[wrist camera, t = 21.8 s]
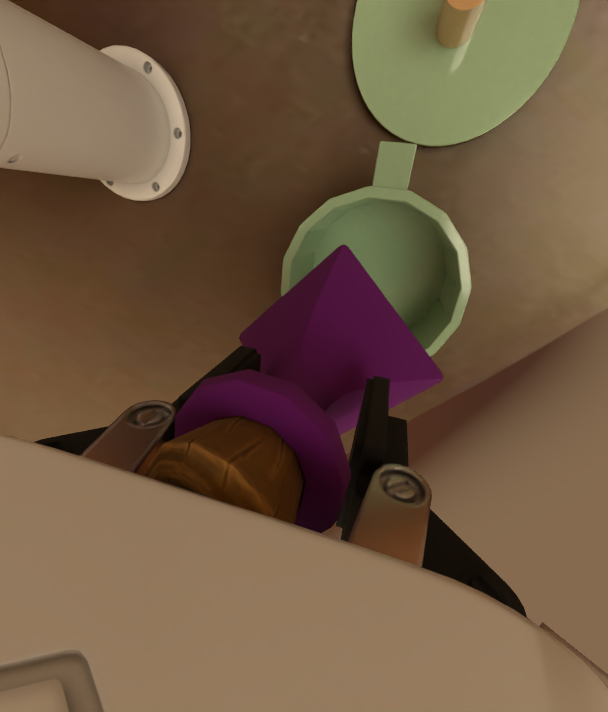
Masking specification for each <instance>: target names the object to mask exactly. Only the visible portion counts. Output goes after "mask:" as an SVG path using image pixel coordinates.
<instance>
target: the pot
mask: <svg viewBox="0 0 608 712" xmlns="http://www.w3.org/2000/svg"><path fill="white" fill-rule="evenodd" d="M416 148H417V144H411V143H399V142H386V141H380V143H379V149H378V155H377V160H376V166H375V172H374V177H373V183H372V186H369V187H368V186H367V187H363V188H360V189H357V190H354V191H351V192H348V193H345V194H342V195H339V196H336V197H333V198H330V199H328V200H327V201H326V202H325V203H324V204H323V205H322V206H321V207H319V208H318V209H317V210H316V211H315V212H314V213H313V214H311V215H310V216H309V217H308V218H307V219H306V220H305V221H304V222H302V223H301V224H300V226H299V228H298V230H297V232H296V234H295V236H294V238H293V240H292V242H291V244H290V246H289V248H288V250H287V252H286V254H285V256H284V259H283V269H282V281H281V296H284V295H285V294H286V293H287V292H288V291H289V290H290V289H291V288H293V287H294V286H295V285H296V284H297V283H298V282H299V281H300V280H302V279H303V278H304V277H305V276H306V275H307V274H308V273H309V272H311V271H312V270H313V269H314V268H315V267H316V266H317V265H318V264H320V263H321V262H322V261H323V260H324V259H325V258H326V257H327V256H329V255H330V254H331V253H332V252H333V251H334V250H335V249H336V248H338V247H339V246H340V245H343V244H344V245H346V246H348V247H349V249H350V250H351V251H352V253H353V254H354V255H355V257H356V258H357V259H358V261H359V262H360V263H361V265H362V266H363V267H364V269H365V270H366V271H367V273H368V274H369V275H370V277H371V278H372V279H373V281H374V282H375V284H376V285H377V286H378V288H379V289H380V290H381V292H382V293H383V294H384V296H385V297H386V298H387V300H388V301H389V302H390V304H391V305H392V306H393V308H394V309H395V310H396V312H397V313H398V314H399V316H400V317H401V318H402V320H403V321H404V323H405V324H406V325H407V327H408V328H409V329H410V331H411V332H412V333H413V335H414V336H415V337H416V339H417V340H418V341H419V343H420V344H421V345H422V347H423V348H424V349H425V351H426V352H427V353H428V355H429V356H432V355H433V354H435V353H436V352H437V351H438V350H439V349H440V347H441V346H442V345H443V344H444V343H445V342H446V340H447V339H448V338H449V337H450V336H451V335H452V333H453V332H454V331H455V330H456V329H457V328H458V326H459V324H460V323H461V320H462V317H463V314H464V310H465V307H466V304H467V301H468V298H469V295H470V292H471V289H472V288H471V287H472V283H471V274H470V265H469V255H468V248H467V246H466V244H465V242H464V241H463V239H462V238H461V236H460V234H459V233H458V231H457V230H456V228H455V226H454V225H453V223H452V222H451V220H450V218H449V217H448V215H447V214H446V213H445V212H444V211H443V210H441V209H439V208H438V207H436V206H435V205H433V204H431V203H430V202H428V201H427V200H425V199H423V198H422V197H420V196H419V195H417V194H415V193H414V192H412V191H410V190H408V185H409V181H410V176H411V171H412V167H413V162H414V158H415V153H416Z"/></svg>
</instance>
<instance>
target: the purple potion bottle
mask: <svg viewBox="0 0 608 712" xmlns="http://www.w3.org/2000/svg"><path fill="white" fill-rule="evenodd" d="M239 339H240V341H241V343H242V345H243V346H245V347H249V348H254V349H256V350H257V353H259V354H260V355H261V364H260V372H258V371H255V370H252V369H247V370H243V371H238V372H234V373H229V374H225V375H220V376H216V377H211V378H207V379H204V380H203V381H202V382H201V384H200V385H199V386H198V387H197V389H196V390H195V391H194V392H193V394H192V395H191V396H190V398H189V399H188V400H187V401H186V403H185V404H184V405H183V406H182V408H181V409H180V410H179V412H178V413H177V414H176V415H175V439H172V440H170V441H168V442H166V443H164V444H163V445H162V446H161V448H160V449H159V450H158V452H157V453H156V454H155V456H154V457H153V459H152V460H151V461H150V463H149V466H148V478H151V479H155V480H158V481H161V482H164V483H167V484H170V485H173V486H177V487H180V488H183V489H186V490H189V491H192V492H195V493H198V494H201V495H204V496H207V497H210V498H213V499H216V500H218V501H222V502H225V503H228V504H231V505H234V506H238V507H241V508H244V509H247V510H250V511H254V512H257V513H260V514H263V515H266V516H269V517H273V518H276V519H279V520H282V521H285V522H288V523H291V524H294V525H297V526H300V527H303V528H306V529H309V530H312V531H315V532H319V533H322V532H324V531H325V530H327V529H329V528H331V527H332V526H333V524H334V523H335V522H336V521H337V519H338V518H339V515H340V512H341V508H342V505H343V502H344V498H345V495H346V491H347V488H348V485H349V481H350V478H351V470H350V467H349V463H348V460H347V457H346V454H345V451H344V447H343V444H342V441H341V438H340V435H341V434H343V433H345V432H347V431H349V430H350V429H352V428H354V427H356V426H357V422H358V417H359V413H360V409H361V404H362V400H363V395H364V391H365V387H366V382H367V378H370V379H373V378H374V375H375V376H379V377H384V378H388V379H390V389H389V408H388V409H390V408H392V407H394V406H396V405H398V404H400V403H401V402H403V401H405V400H407V399H409V398H411V397H413V396H415V395H417V394H418V393H420V392H422V391H424V390H426V389H428V388H430V387H432V386H433V385H435V384H437V383H439V382H440V381H441V380H442V379H443V374H442V372H441V371H440V370H439V368H438V367H437V366H436V364H435V363H434V362H433V360H432V359H431V358H430V356H429V355H428V353H427V352H426V351H425V349H424V348H423V347H422V345H421V344H420V343H419V341H418V340H417V339H416V337H415V336H414V335H413V333H412V332H411V331H410V329H409V328H408V327H407V325H406V324H405V323H404V321H403V320H402V318H401V317H400V316H399V314H398V313H397V312H396V310H395V309H394V308H393V306H392V305H391V304H390V302H389V301H388V300H387V298H386V297H385V296H384V294H383V293H382V292H381V290H380V289H379V288H378V286H377V285H376V284H375V282H374V281H373V279H372V278H371V277H370V275H369V274H368V273H367V271H366V270H365V269H364V267H363V266H362V265H361V263H360V262H359V261H358V259H357V258H356V257H355V255H354V254H353V253H352V251H351V250H350V249H349V247H348V246H346V245H344V244H343V245H340V246H339V247H338V248H336V249H335V250H334V251H333V252H332V253H331V254H330V255H329V256H327V257H326V258H325V259H324V260H323V261H322V262H321V263H320V264H318V265H317V266H316V267H315V268H314V269H313V270H312V271H311V272H309V273H308V274H307V275H306V276H305V277H304V278H303V279H302V280H300V281H299V282H298V283H297V284H296V285H295V286H294V287H293V288H291V289H290V290H289V291H288V292H287V293H286V294H285V295H284V296H282V297H281V298H280V299H279V300H278V301H277V302H276V303H275V304H273V305H272V306H271V307H270V308H269V309H268V310H267V311H266V312H264V313H263V314H262V315H261V316H260V317H259V318H258V319H257V320H255V321H254V322H253V323H252V324H251V325H250V326H249V327H248V328H246V329H245V330H244V331H243V332H242V333H241V334H240V337H239Z"/></svg>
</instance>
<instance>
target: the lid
mask: <svg viewBox="0 0 608 712" xmlns="http://www.w3.org/2000/svg"><path fill="white" fill-rule="evenodd" d="M579 1H580V0H357V4H356V9H355V15H354V20H353V31H352V58H353V66H354V72H355V76H356V80H357V84H358V87H359V90H360V93H361V95H362V98H363V100H364V102H365V104H366V106H367V107H368V109H369V111H370V112H371V114H372V115H373V116H374V118H375V119H376V120H377V122H378V123H379V124H380V125H381V126H382V127H383V128H384V129H386V130H387V131H388V132H390V133H391V134H392V135H394V136H396V137H397V138H399V139H401V140H403V141H406V142H409V143H412V144H417V145H420V146H426V147H444V146H451V145H456V144H460V143H463V142H467V141H469V140H472V139H474V138H477V137H479V136H481V135H483V134H485V133H487V132H489V131H490V130H492V129H494V128H495V127H497V126H498V125H500V124H501V123H502V122H504V121H505V120H507V119H508V118H509V117H510V116H511V115H512V114H514V113H515V112H516V111H517V110H518V109H519V108H521V107H522V106H523V105H524V104H525V102H526V101H527V100H528V99H529V98H530V97H531V96H532V95H533V94H534V93H535V92H536V90H537V89H538V88H539V87H540V85H541V84H542V83H543V81H544V80H545V79H546V77H547V76H548V74H549V73H550V71H551V70H552V68H553V66H554V65H555V63H556V62H557V60H558V58H559V56H560V54H561V52H562V50H563V48H564V46H565V44H566V42H567V39H568V37H569V34H570V32H571V29H572V27H573V24H574V20H575V17H576V13H577V10H578V6H579Z"/></svg>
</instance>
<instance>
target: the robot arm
mask: <svg viewBox="0 0 608 712" xmlns="http://www.w3.org/2000/svg"><path fill="white" fill-rule="evenodd" d="M181 134H182V136H181ZM189 152H190V125H189V118H188V114H187V110H186V107H185V103H184V101H183V98H182V96H181V94H180V91H179V89H178V87H177V86H176V84H175V83H174V81H173V79H172V78H171V76H170V75H169V74H168V73H167V71H166V70H165V69H164V68H163V67H162V66H161V65H160V64H159V63H158V62H156V61H155V60H154V59H152V58H151V57H150V56H148V55H146V54H145V53H143V52H141V51H139V50H138V49H135V48H132V47H128V46H120V45H114V46H110V47H106V48H103V49H102V50H100V51H99V50H97V49H95V48H93V47H92V46H90V45H88V44H86V43H84V42H83V41H81V40H79V39H77V38H75V37H74V36H72V35H70V34H68V33H66V32H65V31H63V30H61V29H59V28H57V27H56V26H54V25H52V24H50V23H48V22H47V21H45V20H43V19H41V18H39V17H38V16H36V15H34V14H32V13H30V12H29V11H27V10H25V9H23V8H21V7H20V6H18V5H16V4H14V3H12V2H11V1H9V0H0V168H7V169H15V170H24V171H32V172H40V173H48V174H56V175H65V176H73V177H81V178H89V179H97V180H100V181H101V182H102V183H103V184H104V185H105V186H106V187H108V188H109V189H110V190H112V191H113V192H114V193H116V194H118V195H120V196H122V197H124V198H127V199H131V200H137V201H149V200H155V199H158V198H161V197H163V196H165V195H166V194H167V193H169V192H170V191H171V190H172V189H173V188H174V187H175V186H176V185H177V184H178V182H179V181H180V179H181V177H182V175H183V173H184V171H185V168H186V165H187V162H188V158H189ZM260 364H261V355H260V354H259V353H257V350H256V349H254V348H249V347H245V346H240V347H239V348H238V349H236V350H235V351H234V352H233V353H232V354H230V355H229V356H228V357H227V358H225V359H224V360H223V361H222V362H221V363H219V364H218V365H217V366H216V367H215V368H213V369H212V370H211V371H210V372H208V373H207V374H206V375H205V376H204V377H202V378H201V379H200V380H199V381H198V382H196V383H195V384H194V385H193V386H191V387H190V388H189V389H188V390H187V391H185V392H184V393H183V394H182V395H181V396H179V398H178V399H177V400H176V401H174V402H173V403H172V404H170V403H168V402H165V401H158V400H152V401H144V402H140V403H137V404H135V405H133V406H131V407H129V408H128V409H127V410H125V411H124V412H123V413H122V414H121V415H120V416H119V417H118V418H117V419H116V420H115V421H114V422H113V423H112V424H111V425H110V426H108V427H103V428H98V429H93V430H87V431H82V432H77V433H72V434H67V435H62V436H57V437H51V438H46V439H42V440H38V441H36V442H30V441H26V440H23V439H19V438H15V437H12V436H7V435H1V434H0V712H608V674H607V673H605V672H604V671H603V670H602V669H600V668H599V667H598V666H597V665H595V664H594V663H593V662H592V661H590V660H589V659H588V658H587V657H585V656H584V655H583V654H581V653H580V652H579V651H578V650H576V649H575V648H574V647H573V646H571V645H570V644H569V643H568V642H566V641H565V640H564V639H562V638H561V637H560V636H559V635H558V634H556V633H555V632H554V631H553V630H551V629H550V628H549V627H548V626H546V625H545V624H544V623H542V624H541V625H540V626H538V625H536V624H534V623H533V622H532V621H531V620H529V619H528V618H527V616H526V613H525V610H524V607H523V605H522V604H521V602H520V600H519V599H518V597H517V595H516V594H515V593H514V592H513V590H512V589H511V588H510V587H509V586H508V585H507V584H506V583H505V582H504V581H503V580H502V579H501V578H500V577H499V576H498V575H497V574H496V573H495V572H494V571H493V570H492V569H491V568H490V567H489V566H488V565H487V564H486V563H485V562H484V561H483V560H482V559H481V558H480V557H479V556H478V555H477V554H476V553H475V552H474V551H473V550H472V549H471V548H470V547H468V545H466V543H464V542H463V541H462V540H461V539H460V538H459V537H458V536H457V535H456V534H455V533H454V532H453V531H452V530H451V529H450V528H449V527H448V526H447V525H446V524H445V523H444V522H443V521H442V520H441V519H440V518H439V517H438V516H437V515H436V514H435V513H434V512H433V511H432V510H431V509H430V506H431V499H432V494H431V489H430V487H429V484H428V483H427V481H426V480H425V479H424V478H423V477H422V476H421V475H420V474H418V473H417V472H416V471H414V470H412V469H410V468H408V443H407V422H406V420H403V419H399V418H395V417H391V416H388V408H389V389H390V379H388V378H384V377H379V376H375V375H374V378H373V379H370V378H367V382H366V387H365V391H364V395H363V400H362V404H361V409H360V413H359V417H358V422H357V426H356V431H355V435H354V439H353V444H352V449H351V453H350V459H349V467H350V470H351V478H350V481H349V485H348V488H347V491H346V495H345V498H344V502H343V505H342V508H341V512H340V515H339V518H338V519H337V523H336V526H338V527H341V528H343V530H342V536H341V540H340V539H337V538H334V537H331V536H328V535H325V534H321V533H319V532H315V531H312V530H309V529H306V528H303V527H300V526H297V525H294V524H291V523H288V522H285V521H282V520H279V519H276V518H273V517H269V516H266V515H263V514H260V513H257V512H254V511H250V510H247V509H244V508H241V507H238V506H234V505H231V504H228V503H225V502H222V501H218V500H216V499H213V498H210V497H207V496H204V495H201V494H198V493H195V492H192V491H189V490H186V489H183V488H180V487H177V486H173V485H170V484H167V483H164V482H161V481H158V480H155V479H151V478H148V466H149V463H150V461H151V460H152V459H153V457H154V456H155V454H156V453H157V452H158V450H159V449H160V448H161V446H162V445H163V444H164V443H166V442H168V441H170V440H172V439H175V415H176V414H177V413H178V412H179V410H180V409H181V408H182V406H183V405H184V404H185V403H186V401H187V400H188V399H189V398H190V396H191V395H192V394H193V392H194V391H195V390H196V389H197V387H198V386H199V385H200V384H201V382H202V381H203V380H204V379H207V378H211V377H216V376H220V375H225V374H229V373H234V372H238V371H243V370H247V369H252V370H255V371H258V372H260Z"/></svg>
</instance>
